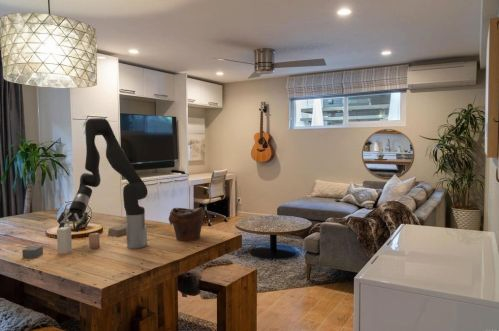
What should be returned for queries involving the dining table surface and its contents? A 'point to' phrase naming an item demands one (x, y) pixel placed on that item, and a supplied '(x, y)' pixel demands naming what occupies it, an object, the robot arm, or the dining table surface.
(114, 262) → the dining table surface
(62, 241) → the tall cream block
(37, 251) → the grey squat block
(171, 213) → the dark brown pot
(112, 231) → the brick
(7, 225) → the dining table surface
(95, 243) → the pink rounded pebble
